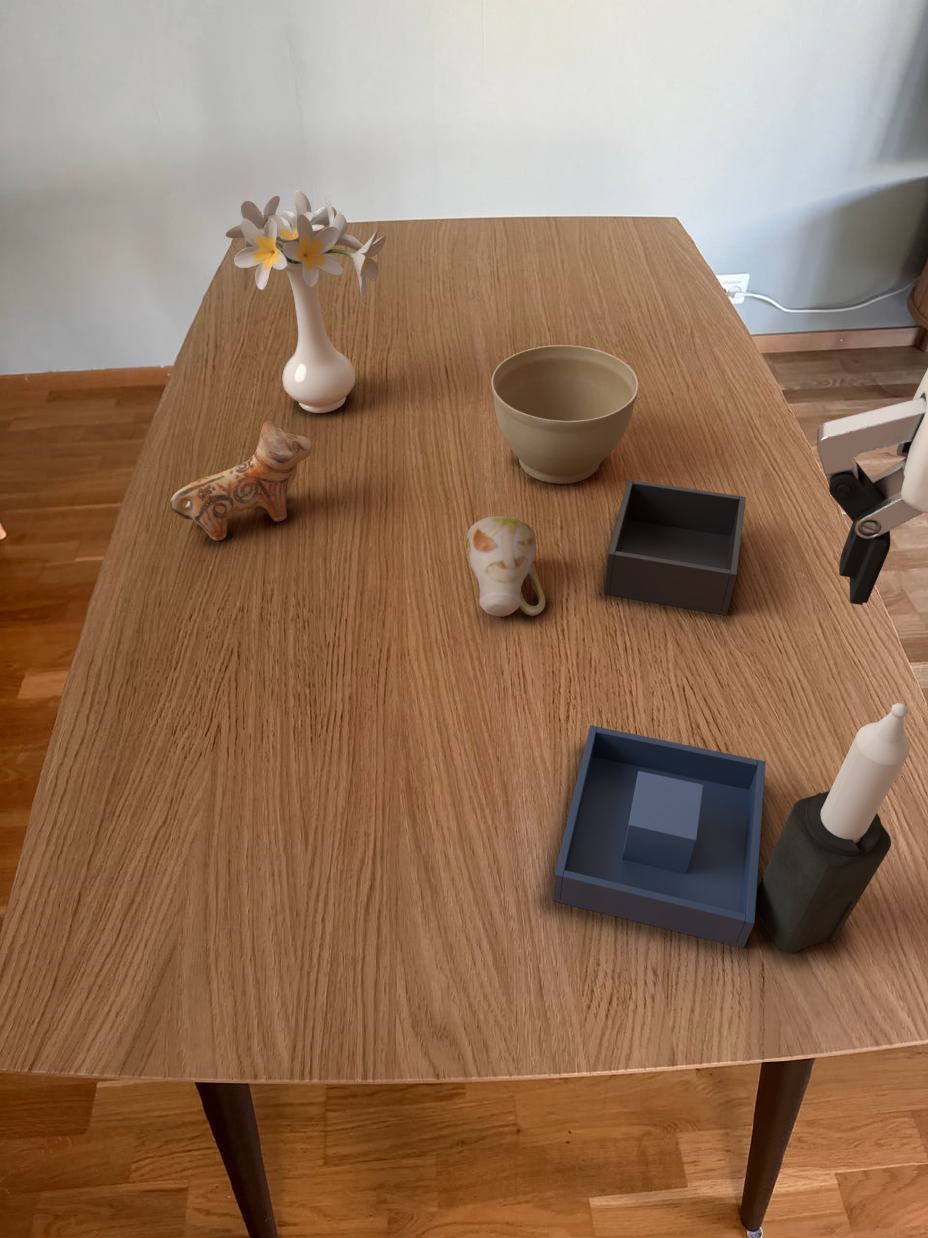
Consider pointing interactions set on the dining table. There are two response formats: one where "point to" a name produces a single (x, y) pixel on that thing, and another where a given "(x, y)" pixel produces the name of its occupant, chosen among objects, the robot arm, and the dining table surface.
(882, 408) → the robot arm
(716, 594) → the charcoal bin
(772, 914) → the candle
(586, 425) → the planter bowl
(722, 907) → the blue bin
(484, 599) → the mug
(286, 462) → the figurine
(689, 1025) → the dining table surface
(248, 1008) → the dining table surface
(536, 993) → the dining table surface
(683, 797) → the blue block
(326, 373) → the flower vase
